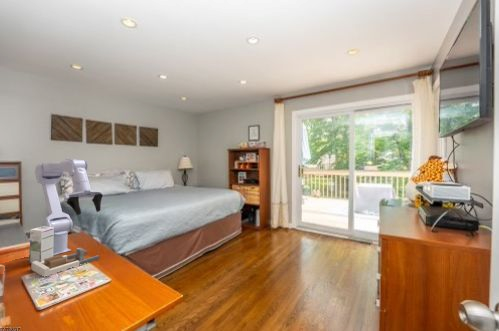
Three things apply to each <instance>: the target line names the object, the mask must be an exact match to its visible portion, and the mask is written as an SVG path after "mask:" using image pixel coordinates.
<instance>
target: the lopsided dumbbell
mask: <svg viewBox="0 0 499 331" xmlns="http://www.w3.org/2000/svg"><path fill="white" fill-rule="evenodd" d="M85 250H86V249H84V248H82V247H78V248H75V253H76V258H73V259H69V260H66V258H65V257H63V256H64V255H61V254H57V255H53V257H50V258H46V259H44V265H45V266H47V267H49V268H50V269H51V268H55V267H58V266H61V265H64V264H67V263H71V262H74V261H77V260H78V261H81V260H84V259H86V258H85V257H86V256H85Z"/></svg>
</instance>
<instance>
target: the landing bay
mask: <svg viewBox="0 0 499 331" xmlns="http://www.w3.org/2000/svg"><path fill="white" fill-rule="evenodd" d="M85 255H88V250H86V249H85ZM75 258H76V252H75V253H71V254H68V255H67V260H66V261H69V260H72V259H75ZM97 260H98V261H99V260H100V255H99V254H97V255H95V256H91V257H88V258H85V259H84V260H81V261H79V265H80V264H83V263H86V264H88V263H87V262H89V263H92V262H95V261H97ZM83 265H84V264H83ZM80 266H81V265H80Z"/></svg>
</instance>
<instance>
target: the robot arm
mask: <svg viewBox="0 0 499 331" xmlns="http://www.w3.org/2000/svg"><path fill="white" fill-rule="evenodd" d="M87 170H88V163H87V161H86V160H84V159H76V158H65V160H62V161H60V162H45V163H38V164H37V165H36V166H35V169H34V175H35V178H36V180H37V183H39V184H40V185H41V188H42V191H43V194H44V199H45V203H46V208H47V211H48V215H47V216H46V217H45V218H44V219H43V221H42V226H44V227H54V239H53V256H57V255H61V254H64V253H67V252H70V251H72V249H70V248H68V236H69V235H68V233H70V231H71V230H72V228H73V224H74V223H73V220H72V218H71V217H70V215H69V214H68V213H66V212H64V211H63V208H62V206H61V202H60V197H59V194H58V191H57V185H56V184H57V183H59V182H61V180H62V178H63V175H64V173H68V176H69V178H71V181H72V186H73V189H74V192H71V193H65V194H64V195H63V196H62V198H63V199H64V201H66V204H67V205H69V207H70V208H72V210H73V211H74V213H75V214H76V216H79V215H80V214H82V210H81V207H80V206H81V205H80V201H79V200H80V199H81V198H82V199H83V198H92V197H93V198H92V199H91V201H92V202H93V205H94V208H95V212H96V213H98V212H101V210H102V209H101V204H102V198H103V196H104V192H103V190H92V187H91V185H90V181H89V178H88V174H87Z"/></svg>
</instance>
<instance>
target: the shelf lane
mask: <svg viewBox="0 0 499 331" xmlns="http://www.w3.org/2000/svg"><path fill="white" fill-rule="evenodd" d="M62 256H63V257H65V258H66V261H68V260H67V256H68V255H67V254H65V255H62ZM78 265H79V261H78V260H75V261H72V262H69V263H66V264H64V265H61V266H58V267H55V268H51V269H50V268H49V267H47V266H45V265H44V261H43V262H38V261H34V262H32V263H31V265H30V266H31V269H30V270H31V271H33V272H34V273H36V274H38V273H39V275H40V274H41V275H43V276H44V277H43V276H42V277H43V278H46V277H45V276H47V277H49V276H48V275H50V276H52V275H51V274H53V273H56V274H58V273H57V272H59V273H61V272H60V271H62V272H64V271H63V270H65V269H68V268H71V267H74V266H77V267H79V266H78ZM74 268H75V267H74ZM71 269H72V268H71ZM68 270H69V269H68ZM65 271H66V270H65ZM41 275H40V276H41ZM53 275H54V274H53Z"/></svg>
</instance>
